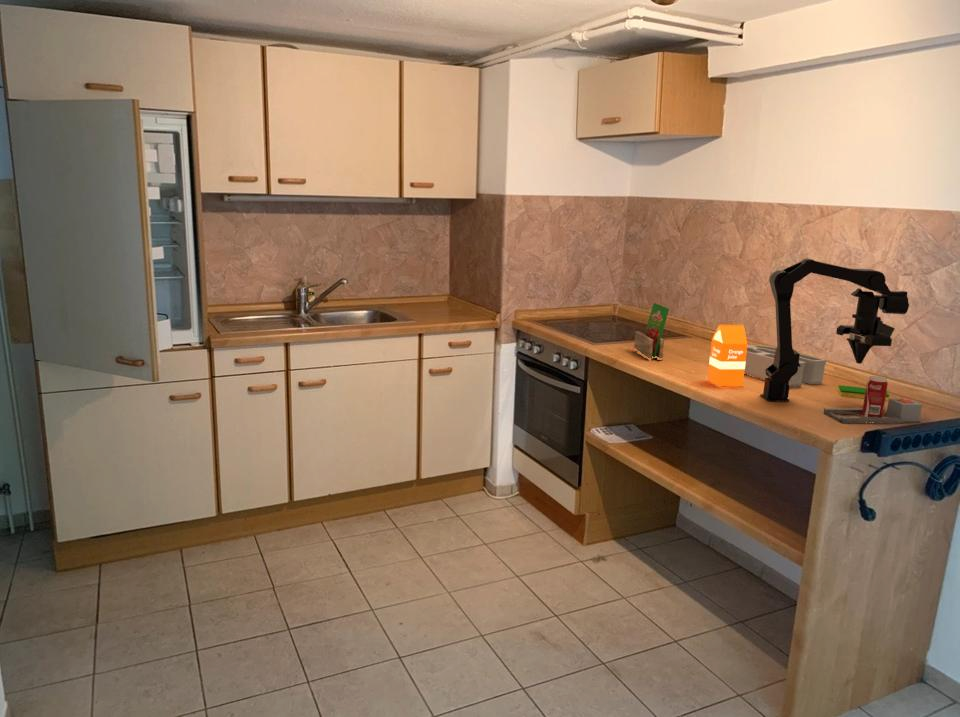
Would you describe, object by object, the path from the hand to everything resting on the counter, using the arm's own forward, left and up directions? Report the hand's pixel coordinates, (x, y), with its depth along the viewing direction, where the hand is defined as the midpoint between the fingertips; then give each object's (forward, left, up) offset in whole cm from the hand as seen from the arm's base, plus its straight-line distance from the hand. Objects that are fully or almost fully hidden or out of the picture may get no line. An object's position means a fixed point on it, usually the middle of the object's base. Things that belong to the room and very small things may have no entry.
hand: (858, 363), depth 223 cm
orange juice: (-30, +24, -13) cm, 41 cm away
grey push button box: (+7, -14, -13) cm, 20 cm away
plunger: (+7, -14, -12) cm, 20 cm away
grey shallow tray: (-6, -14, -13) cm, 20 cm away
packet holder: (-42, +66, -13) cm, 79 cm away
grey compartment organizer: (-7, +35, -14) cm, 38 cm away
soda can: (-3, -14, -13) cm, 19 cm away
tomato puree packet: (-42, +66, -13) cm, 80 cm away
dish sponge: (+10, +10, -14) cm, 20 cm away
